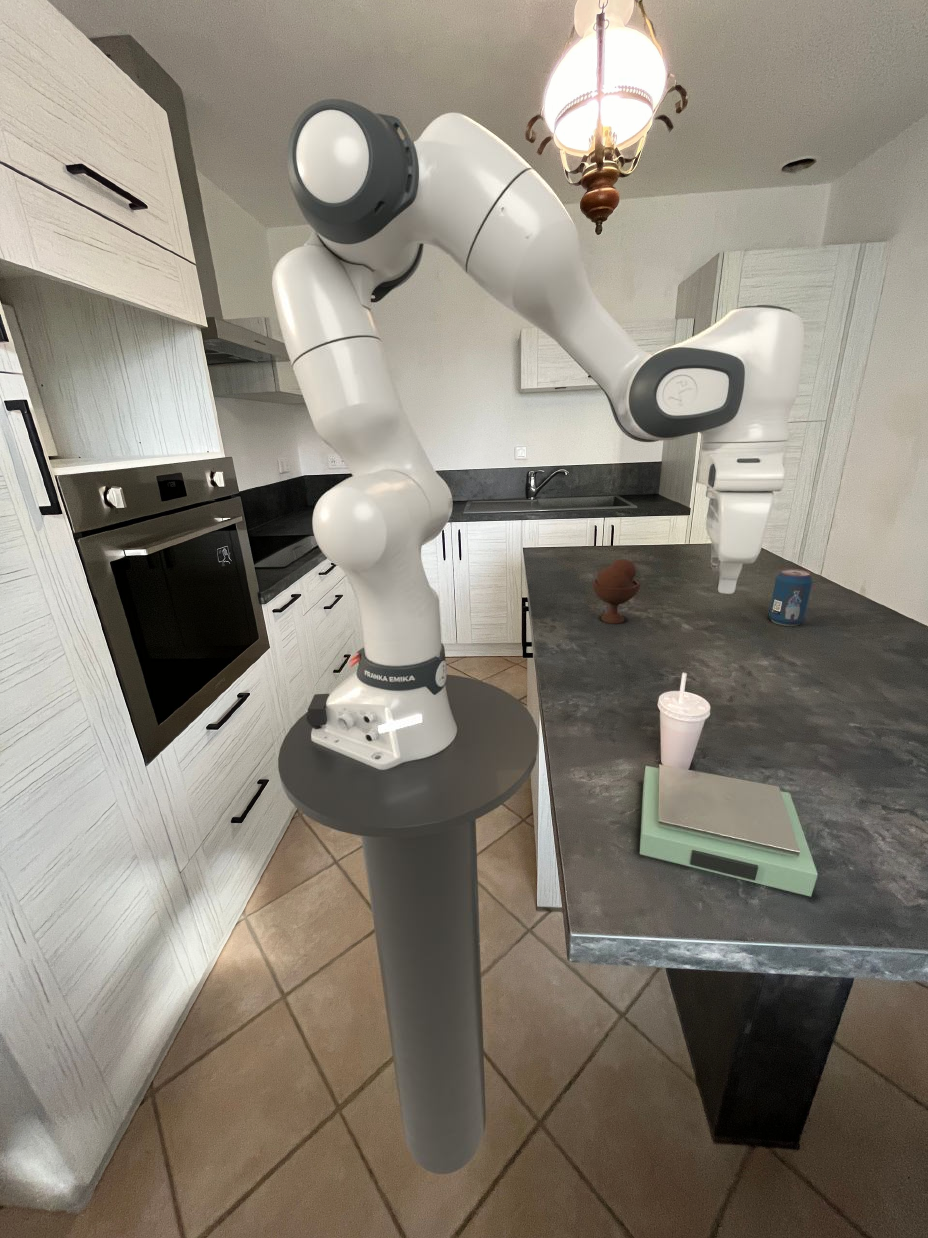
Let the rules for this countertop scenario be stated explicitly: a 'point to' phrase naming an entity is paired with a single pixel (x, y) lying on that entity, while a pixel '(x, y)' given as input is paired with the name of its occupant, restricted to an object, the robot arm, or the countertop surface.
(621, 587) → the ice cream bowl
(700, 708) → the smoothie
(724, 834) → the scale pan
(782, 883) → the kitchen scale
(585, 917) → the countertop surface
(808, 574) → the soda can
